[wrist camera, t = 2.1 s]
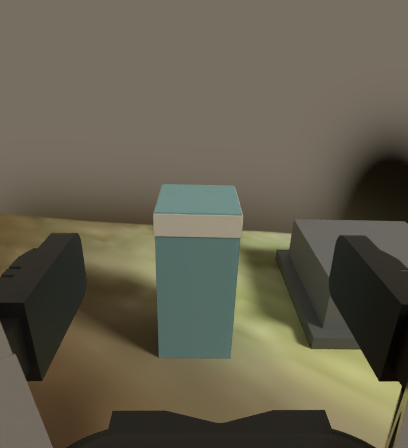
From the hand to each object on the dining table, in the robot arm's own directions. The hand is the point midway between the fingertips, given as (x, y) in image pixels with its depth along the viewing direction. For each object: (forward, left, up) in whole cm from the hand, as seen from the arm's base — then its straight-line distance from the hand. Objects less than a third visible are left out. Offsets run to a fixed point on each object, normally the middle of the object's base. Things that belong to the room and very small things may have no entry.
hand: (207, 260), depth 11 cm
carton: (0, +11, -13) cm, 17 cm away
